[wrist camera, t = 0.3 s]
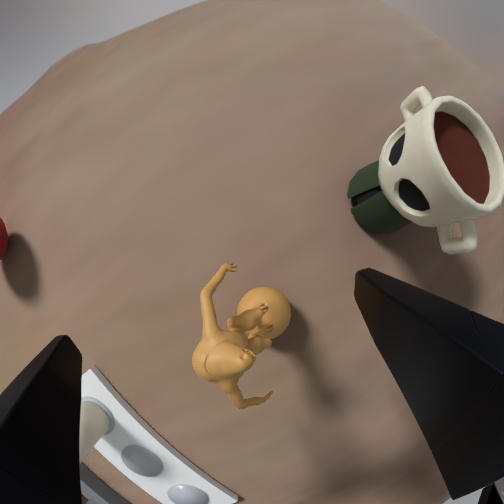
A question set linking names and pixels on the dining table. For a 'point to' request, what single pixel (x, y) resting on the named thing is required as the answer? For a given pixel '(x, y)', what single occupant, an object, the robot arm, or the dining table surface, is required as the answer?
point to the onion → (3, 239)
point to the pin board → (97, 489)
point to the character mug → (433, 173)
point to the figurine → (238, 336)
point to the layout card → (140, 448)
